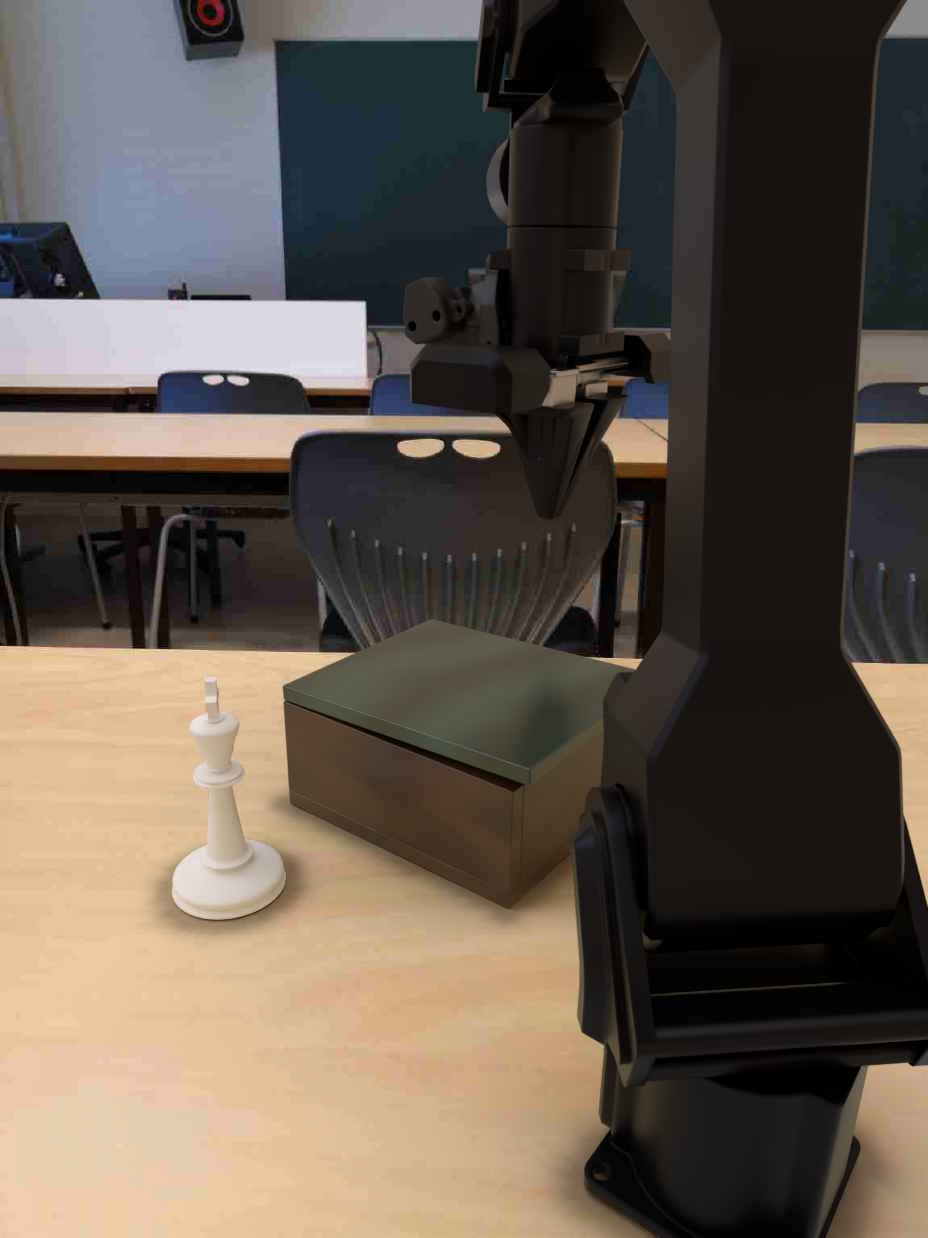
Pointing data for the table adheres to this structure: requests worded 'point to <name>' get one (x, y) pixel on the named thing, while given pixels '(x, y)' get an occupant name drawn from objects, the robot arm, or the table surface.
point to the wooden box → (439, 803)
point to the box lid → (467, 697)
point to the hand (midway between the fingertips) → (548, 517)
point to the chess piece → (224, 832)
